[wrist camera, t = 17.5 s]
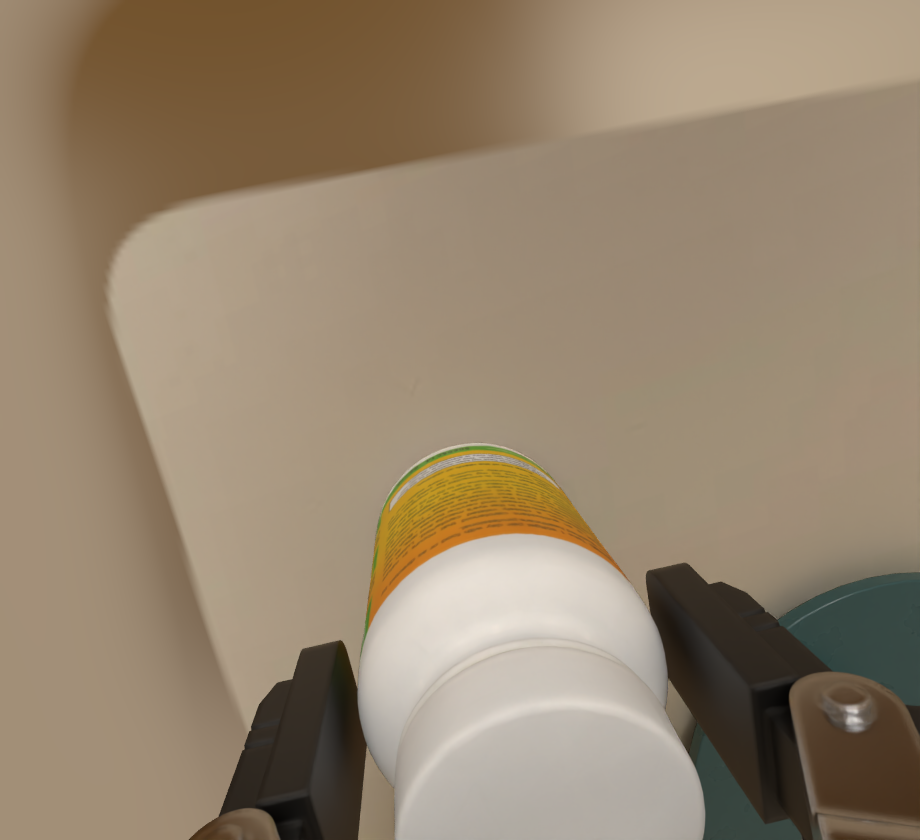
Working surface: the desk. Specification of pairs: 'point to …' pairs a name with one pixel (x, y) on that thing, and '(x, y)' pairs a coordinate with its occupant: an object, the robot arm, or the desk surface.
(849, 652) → the pan lid
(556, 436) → the desk surface
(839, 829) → the robot arm
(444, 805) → the supplement bottle
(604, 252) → the desk surface
